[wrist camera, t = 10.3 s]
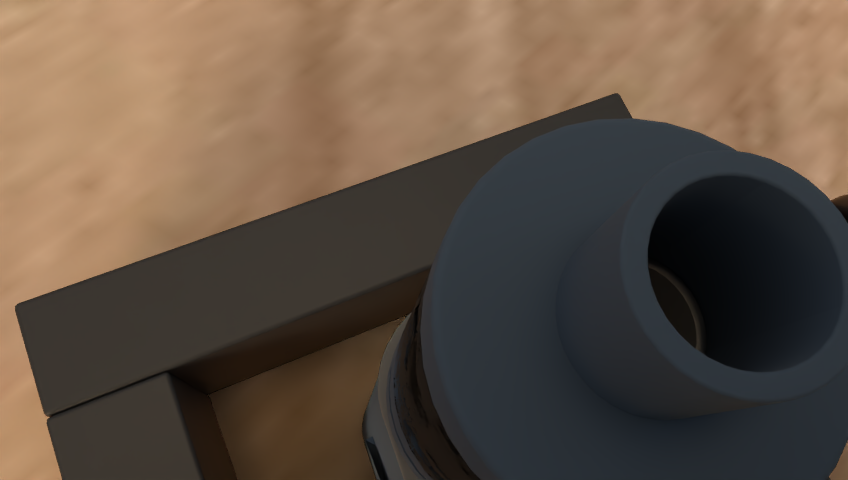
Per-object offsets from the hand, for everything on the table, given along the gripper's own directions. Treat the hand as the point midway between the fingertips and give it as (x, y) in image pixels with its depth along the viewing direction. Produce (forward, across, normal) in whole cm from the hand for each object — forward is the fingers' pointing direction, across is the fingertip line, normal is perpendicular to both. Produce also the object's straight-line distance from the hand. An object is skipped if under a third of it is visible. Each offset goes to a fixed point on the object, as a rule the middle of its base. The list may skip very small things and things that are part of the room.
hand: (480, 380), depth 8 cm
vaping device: (+4, 0, +6) cm, 7 cm away
